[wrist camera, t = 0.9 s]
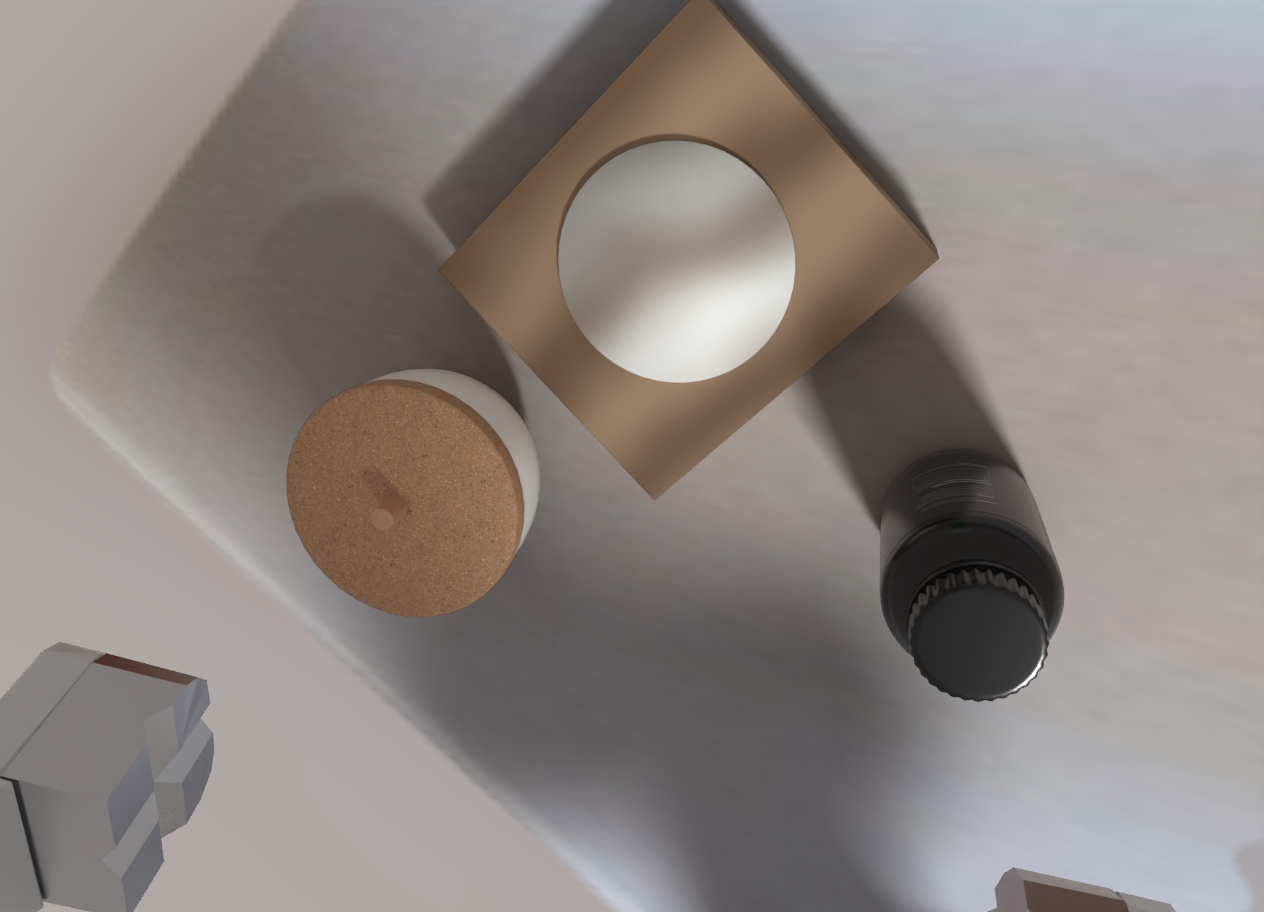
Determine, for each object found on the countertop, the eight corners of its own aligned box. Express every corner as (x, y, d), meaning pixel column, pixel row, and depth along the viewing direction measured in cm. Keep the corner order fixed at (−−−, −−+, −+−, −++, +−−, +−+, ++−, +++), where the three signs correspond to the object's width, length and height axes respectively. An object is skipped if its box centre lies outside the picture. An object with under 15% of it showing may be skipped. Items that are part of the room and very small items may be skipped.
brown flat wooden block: (936, 248, 46) (939, 259, 43) (667, 478, 52) (652, 502, 49) (711, -4, 45) (698, -11, 42) (462, 260, 51) (435, 271, 48)
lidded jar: (343, 504, 57) (244, 579, 48) (390, 312, 53) (290, 355, 44) (534, 582, 56) (467, 673, 47) (596, 391, 52) (535, 452, 43)
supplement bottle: (856, 552, 51) (845, 679, 40) (919, 423, 49) (925, 520, 38) (996, 610, 51) (1024, 756, 40) (1067, 482, 48) (1117, 600, 37)
